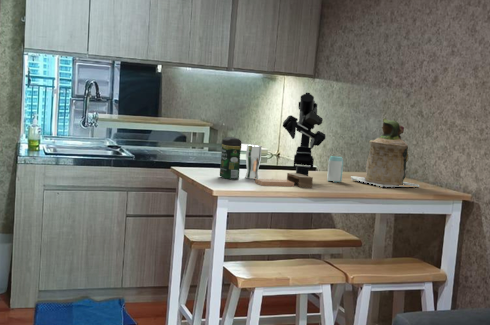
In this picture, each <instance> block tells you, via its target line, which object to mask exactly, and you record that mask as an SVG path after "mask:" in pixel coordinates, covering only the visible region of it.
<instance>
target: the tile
mask: <svg viewBox="0 0 490 325" xmlns="http://www.w3.org/2000/svg"><path fill="white" fill-rule="evenodd" d="M254 183H255V184H257V185H260V186H267V187H269V186H272V187H275V186H276V187H295V183H294V182H291V181H289V180H287V179H276V178H274V179H268V178H266V179H265V178H258V179H254Z"/></svg>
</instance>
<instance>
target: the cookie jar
mask: <svg viewBox="0 0 490 325" xmlns="http://www.w3.org/2000/svg"><path fill="white" fill-rule="evenodd" d="M382 122H383V123H382V126H381V129H382V135H381V136H379V137H376V138H375V139H371V140H369V145H370V147H369V152H368V156H367V160H366V166H365V167H366V168H365V172H366V173H365V174H366V175H365V177H364V176H353V175H352V176H350V179H351V181H352V180H355V181H357V182H359V181H360V182H359V183H363V182H364V184H367V183H369V184H368V185H371V184H373V185H372V186H374V185H377V186H381V187H382V188H383V187H384V188H387V187H391V188H395V187H404V186H399V185H403V184H404V185H410V186H417V187H419V188H420V184H418V183H413V182H412V183H411V182H407V181H404V180H405V178H406V169H407V163H408V161H409V160H408V159H409V151H408V150H409V146H408V144H407V143H406V142H405V141H404V140H403V139H402V136H401V134H403V133H404V131H405V127H404V126H403V125H401V124H400V123H399V122H398V121H397V120H392V119H390V120H389V119H387V118H385V117H384V118H382ZM377 186H376V187H377Z"/></svg>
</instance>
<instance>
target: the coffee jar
mask: <svg viewBox="0 0 490 325" xmlns="http://www.w3.org/2000/svg"><path fill="white" fill-rule="evenodd" d="M221 140H222V141H221V155H220V156H221V157H220V166H219V177H220V178H223V179H225V180H226V179H228V180H239V179H240V167H241V166H240V164H241V150H242V140H241V139H240V138H237V137H235V136H234V137H233V136H225V137H223V138H222V139H221Z"/></svg>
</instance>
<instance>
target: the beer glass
mask: <svg viewBox="0 0 490 325" xmlns="http://www.w3.org/2000/svg"><path fill="white" fill-rule="evenodd" d="M245 151H246V152H245V153H246V154H245V161H246V162H245V163H246V164H245V165H246V173H245V175H244V176H245V178H246V179H248V178H249V179H250V180H255V179H260V178H259V167H260V164H261V160H262V146H261V145H255V144H247V146H246V150H245Z"/></svg>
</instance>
